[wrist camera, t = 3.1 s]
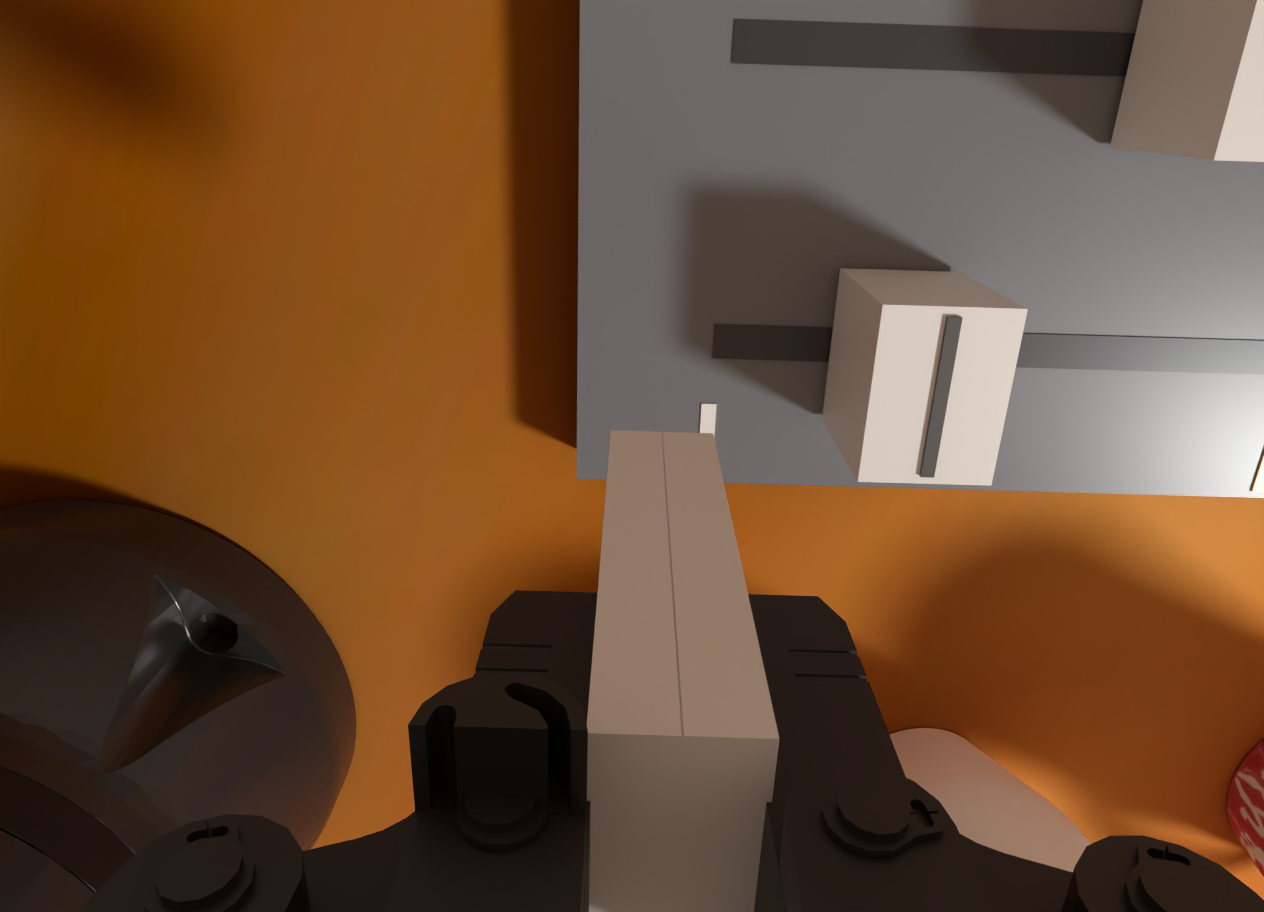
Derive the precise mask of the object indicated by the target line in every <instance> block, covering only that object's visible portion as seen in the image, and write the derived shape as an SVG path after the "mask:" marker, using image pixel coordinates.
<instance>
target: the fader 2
mask: <svg viewBox="0 0 1264 912" xmlns="http://www.w3.org/2000/svg"><path fill="white" fill-rule="evenodd" d="M1110 148H1115V149H1123V150H1131V151H1140V152H1148V153H1156V154H1165V155H1173V156H1181V157H1190V158H1198V159H1206V160H1218V161H1249V162H1264V0H1143V3H1142V8H1141V12H1140V16H1139V21H1138V25H1137V30H1136V34H1135V38H1134V43H1133V47H1132V52H1131V56H1130V61H1129V65H1128V69H1127V74H1126V78H1125V83H1124V87H1123V91H1122V96H1121V100H1120V105H1119V109H1118V114H1117V118H1116V122H1115V127H1114V131H1113V136H1112V140H1111V144H1110Z"/></svg>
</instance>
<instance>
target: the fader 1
mask: <svg viewBox="0 0 1264 912" xmlns="http://www.w3.org/2000/svg"><path fill="white" fill-rule="evenodd" d="M1027 311H1028V309H1027V308H1025V307H1023V306H1022V305H1020V304H1018V303H1016V302H1014V301H1013V300H1011V299H1009V298H1007V297H1005V296H1003V295H1002V294H1000V293H998V292H996V291H994V290H993V289H991V288H989V287H987V286H985V285H984V284H982V283H980V282H978V281H976V280H974V279H973V278H971V277H969V276H967V275H965V274H964V273H962V272H947V271H914V270H881V269H849V268H840V274H839V282H838V290H837V298H836V307H835V315H834V323H833V331H832V340H831V348H830V356H829V365H828V373H827V381H826V389H825V398H824V406H823V414H822V421H823V423H824V424H825V426H826V428H827V430H828V431H829V433H830V435H831V437H832V438H833V440H834V442H835V444H836V445H837V447H838V449H839V450H840V452H841V454H842V456H843V457H844V459H845V461H846V463H847V464H848V466H849V468H850V469H851V471H852V473H853V475H854V476H855V478H856V480H857V482H879V483H915V484H951V485H987V486H991V485H992V480H993V476H994V471H995V466H996V461H997V456H998V451H999V447H1000V442H1001V437H1002V432H1003V427H1004V422H1005V417H1006V413H1007V408H1008V403H1009V398H1010V393H1011V388H1012V384H1013V379H1014V374H1015V369H1016V364H1017V359H1018V354H1019V350H1020V345H1021V340H1022V335H1023V330H1024V325H1025V321H1026V316H1027Z"/></svg>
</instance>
